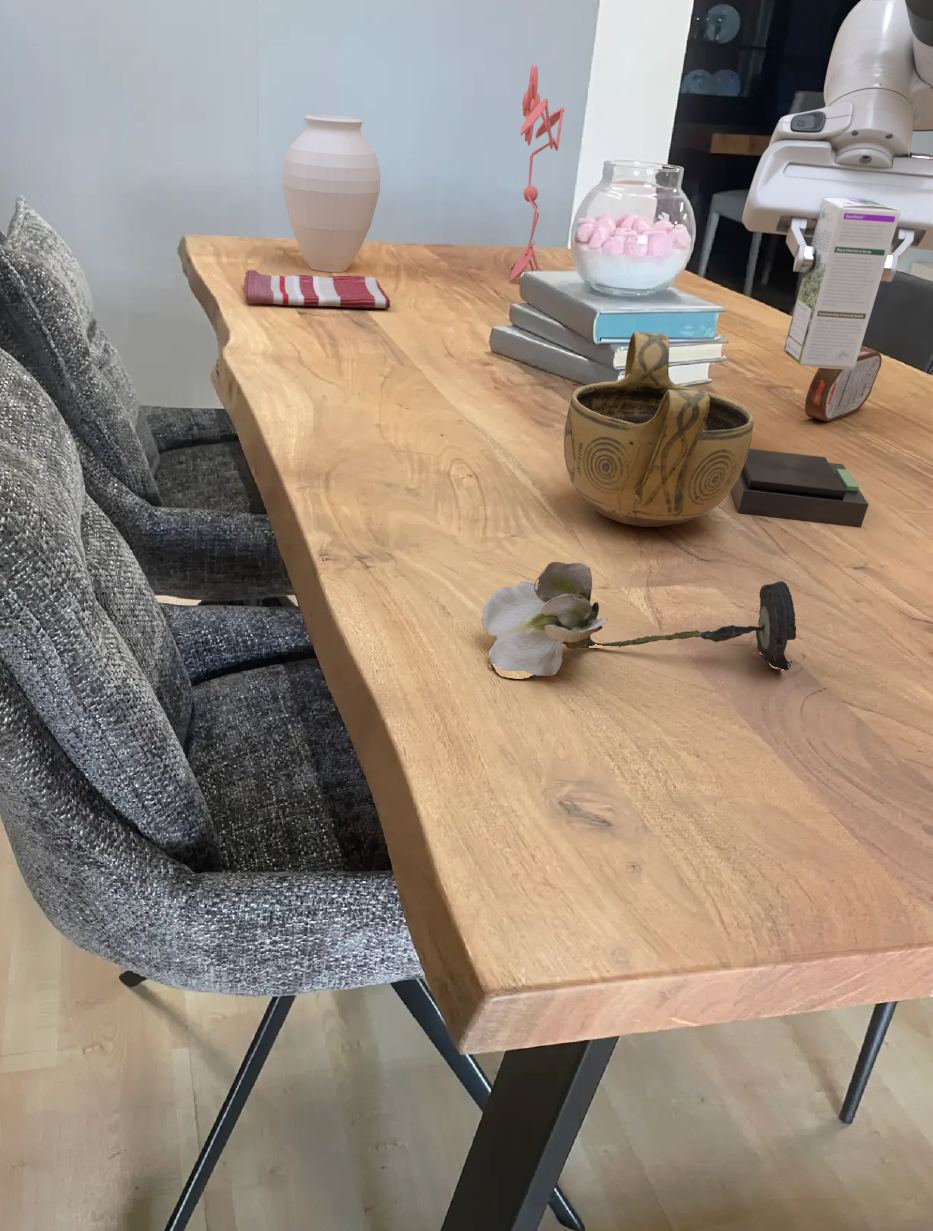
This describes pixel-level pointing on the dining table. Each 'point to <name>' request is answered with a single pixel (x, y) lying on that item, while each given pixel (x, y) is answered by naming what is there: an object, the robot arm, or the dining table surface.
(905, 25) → the robot arm
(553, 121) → the figurine
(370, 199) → the vase
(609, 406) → the ceramic bowl
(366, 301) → the dish towel
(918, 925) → the dining table surface
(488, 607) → the artificial flower
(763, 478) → the scale
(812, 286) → the syrup box
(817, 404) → the tin
